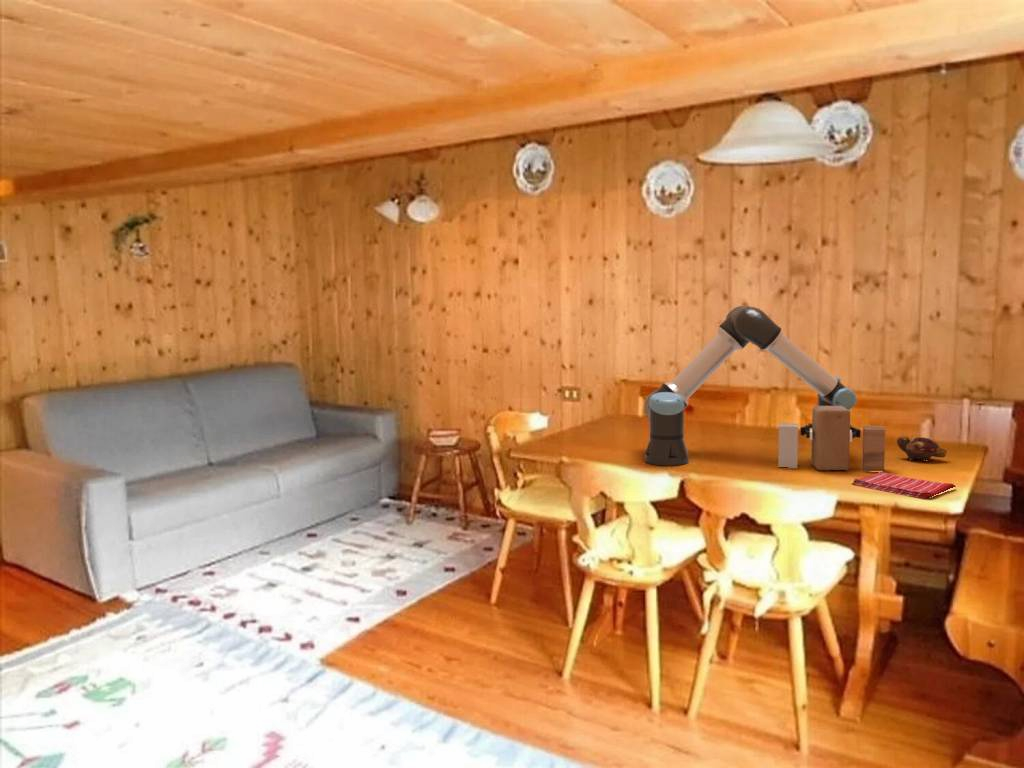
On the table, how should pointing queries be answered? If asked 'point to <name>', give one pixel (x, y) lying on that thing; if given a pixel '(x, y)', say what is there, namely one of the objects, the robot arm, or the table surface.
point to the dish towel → (903, 485)
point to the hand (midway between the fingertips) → (830, 436)
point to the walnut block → (873, 448)
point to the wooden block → (830, 437)
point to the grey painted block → (788, 445)
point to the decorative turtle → (920, 448)
